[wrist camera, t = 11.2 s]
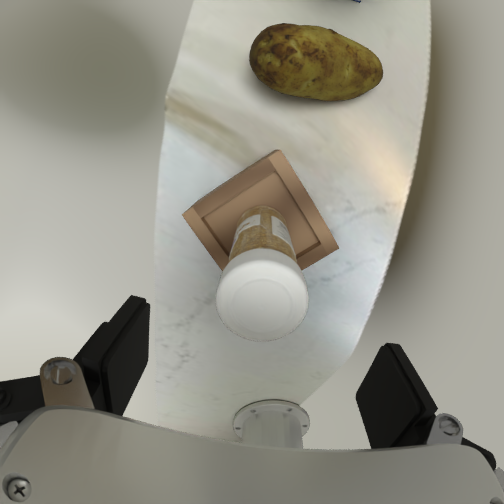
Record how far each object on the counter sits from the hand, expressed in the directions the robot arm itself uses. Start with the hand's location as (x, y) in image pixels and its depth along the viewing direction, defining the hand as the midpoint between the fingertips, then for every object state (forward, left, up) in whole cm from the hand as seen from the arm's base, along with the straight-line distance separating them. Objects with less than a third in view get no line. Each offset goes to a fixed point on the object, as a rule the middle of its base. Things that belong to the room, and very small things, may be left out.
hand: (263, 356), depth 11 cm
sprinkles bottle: (0, 0, -17) cm, 17 cm away
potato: (+10, -13, -23) cm, 29 cm away
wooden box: (0, 0, -23) cm, 23 cm away
